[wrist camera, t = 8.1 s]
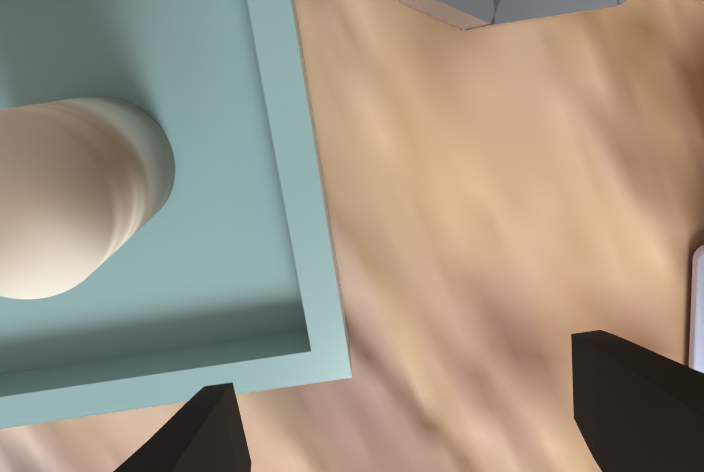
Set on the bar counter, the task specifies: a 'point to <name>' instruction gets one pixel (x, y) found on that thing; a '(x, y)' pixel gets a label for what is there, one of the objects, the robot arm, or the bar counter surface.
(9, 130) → the cylinder
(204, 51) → the tray
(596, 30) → the bar counter surface
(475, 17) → the grey rounded shallow piece
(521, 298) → the bar counter surface
